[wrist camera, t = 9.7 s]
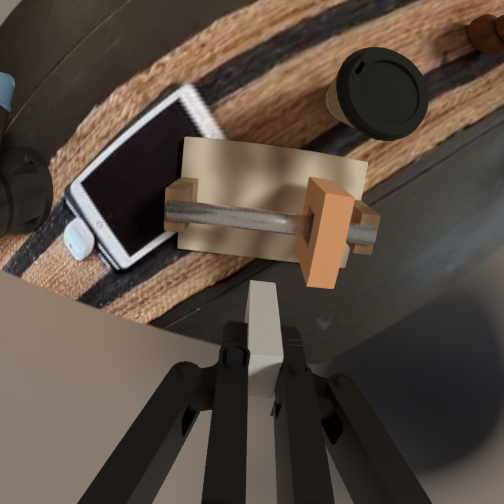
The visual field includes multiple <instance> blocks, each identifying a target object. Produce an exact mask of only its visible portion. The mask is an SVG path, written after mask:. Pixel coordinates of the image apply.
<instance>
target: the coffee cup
mask: <svg viewBox="0 0 504 504" xmlns="http://www.w3.org/2000/svg"><path fill="white" fill-rule="evenodd" d="M428 98H429V97H428V89H427V86H426V83H425V80H424V78H423V76H422V74H421V72H420V71H419V70H418V68H417V67H416V66H415V65H414V64H413V63H412V62H411V61H410V60H409V59H407V58H406V57H404V56H403V55H401V54H399V53H397V52H395V51H393V50H390V49H386V48H382V47H370V48H364V49H361V50H358V51H356V52H354V53H353V54H351V55H350V56H349V57H348V58H347V59H346V60H345V61H344V62H343V64H342V66H341V68H340V70H339V72H338V74H337V76H336V77H335V79H334V80H333V81H332V83H331V85H330V87H329V89H328V91H327V93H326V99H325V101H326V106H327V109H328V110H329V112H330V113H331V115H332V116H333V117H335V118H336V119H337V120H339V121H341V122H343V123H345V124H347V125H349V126H351V127H353V128H356V129H357V130H358V131H359V132H361V133H363V134H364V135H366V136H368V137H371V138H373V139H376V140H382V141H394V140H397V139H401V138H404V137H406V136H408V135H409V134H411V133H412V132H413V131H414V130H416V129H417V127H418V126H419V125H420V123H421V122H422V120H423V119H424V117H425V114H426V112H427V108H428Z"/></svg>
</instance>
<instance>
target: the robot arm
mask: <svg viewBox="0 0 504 504" xmlns="http://www.w3.org/2000/svg"><path fill="white" fill-rule="evenodd" d="M14 89H15V82H14V79H13V78H12V76H10V75H8V74H5V73H2V72H0V150H1V145H2V140H3V135H4V130H5V126H6V122H7V118H8V114H9V113H10V111H11V108H10V105H11V101H12V97H13V93H14ZM52 202H53V184H52V179H51V175H50V172H49V169H48V167H47V165H46V163H45V161H44V160H43V158H42V157H41V156H40V155H39V154H38V153H37V152H36V151H34V150H33V149H31V148H28V147H16V148H12V149H9V150H7V151H5V152H3V153H2V154H1V155H0V238H2V237H4V236H7V235H20V234H27V233H30V232H32V231H34V230H35V229H37V228H38V227H40V226H41V225H42V224H43V223H44V222H45V221H46V219H47V218H48V216H49V213H50V211H51V207H52ZM274 392H275V401H274V404H273V408H272V411H271V416H273V414H274V435H275V457H276V481H277V504H335V503H334V496H333V489H332V483H331V477H330V470H329V464H328V458H327V452H326V446H327V449H328V451H329V453H330V455H331V457H332V459H333V461H334V463H335V466H336V468H337V470H338V472H339V474H340V476H341V478H342V480H343V482H344V484H345V486H346V488H347V490H348V492H349V494H350V496H351V498H352V501H353V503H354V504H432V502H431V501H430V499H429V498H428V496H427V494H426V493H425V491H424V490H423V488H422V486H421V485H420V483H419V482H418V480H417V479H416V477H415V475H414V473H413V472H412V470H411V469H410V467H409V465H408V464H407V462H406V461H405V459H404V458H403V456H402V454H401V453H400V451H399V450H398V448H397V446H396V445H395V443H394V442H393V440H392V439H391V437H390V435H389V434H388V432H387V431H386V429H385V428H384V426H383V425H382V423H381V421H380V420H379V418H378V417H377V415H376V414H375V412H374V410H373V409H372V407H371V406H370V404H369V403H368V401H367V399H366V398H365V397H364V395H363V393H362V392H361V390H360V389H359V387H358V385H357V384H356V382H355V381H354V380H353V379H352V378H351V377H350V376H348V375H346V374H342V373H336V374H333V375H331V376H330V377H329V379H327V378H324V377H320V376H317V375H315V374H313V373H312V371H311V369H310V368H309V367H308V366H307V365H306V361H305V355H304V350H303V346H302V341H301V334H300V332H299V331H298V330H297V328H296V327H290V326H280V320H279V311H278V302H277V294H276V285H275V283H270V282H261V281H252V280H250V286H249V293H248V300H247V308H246V315H245V323H242V322H233V321H228V323H227V324H226V325H225V326H224V330H223V337H222V345H221V348H220V351H219V361H218V362H217V364H215V365H213V366H211V367H207V368H199V367H198V366H197V365H196V364H194V363H192V362H187V361H185V362H179V363H177V364H175V365H174V366H172V368H171V369H170V371H169V372H168V373H167V375H166V376H165V378H164V379H163V381H162V382H161V384H160V385H159V387H158V388H157V389H156V391H155V392H154V394H153V395H152V397H151V398H150V399H149V401H148V402H147V404H146V405H145V407H144V408H143V409H142V411H141V412H140V414H139V415H138V417H137V418H136V420H135V421H134V422H133V424H132V425H131V427H130V428H129V430H128V431H127V432H126V434H125V435H124V437H123V438H122V440H121V441H120V443H119V444H118V445H117V447H116V449H115V450H114V451H113V453H112V454H111V456H110V457H109V458H108V460H107V461H106V463H105V464H104V466H103V467H102V469H101V470H100V471H99V473H98V474H97V476H96V477H95V479H94V480H93V481H92V483H91V484H90V486H89V487H88V489H87V490H86V492H85V493H84V495H83V496H82V497H81V499H80V500H79V502H78V503H77V504H152V502H153V500H154V499H155V497H156V495H157V493H158V491H159V489H160V488H161V486H162V484H163V482H164V480H165V478H166V476H167V475H168V473H169V471H170V469H171V467H172V465H173V463H174V461H175V459H176V457H177V456H178V454H179V452H180V450H181V448H182V446H183V444H184V442H185V440H186V439H187V437H188V435H189V432H190V431H191V429H192V427H193V425H194V423H195V421H196V419H197V417H198V415H199V413H200V411H205V410H212V417H211V426H210V433H209V442H208V449H207V458H206V466H205V475H204V484H203V493H202V502H201V504H245V501H246V456H247V454H246V453H247V452H246V451H247V409H248V396H255V397H270V398H273V396H274ZM325 445H326V446H325Z"/></svg>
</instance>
